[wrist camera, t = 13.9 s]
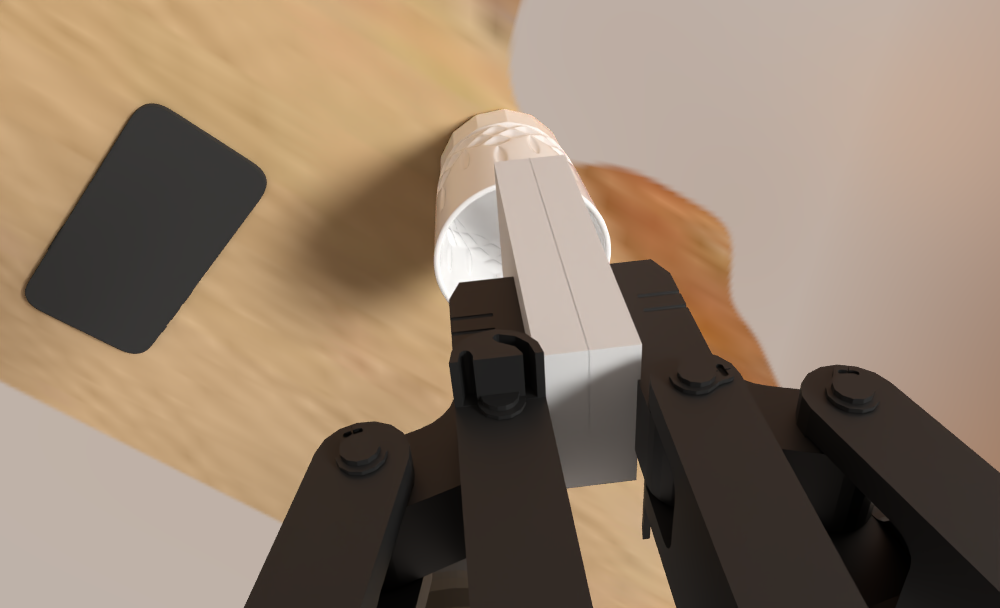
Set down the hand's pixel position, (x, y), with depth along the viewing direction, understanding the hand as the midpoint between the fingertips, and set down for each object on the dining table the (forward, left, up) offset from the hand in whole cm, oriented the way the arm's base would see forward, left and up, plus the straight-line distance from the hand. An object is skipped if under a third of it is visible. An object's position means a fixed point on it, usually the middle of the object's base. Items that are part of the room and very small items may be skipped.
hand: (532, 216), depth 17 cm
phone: (-12, +19, -25) cm, 34 cm away
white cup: (-10, -1, -25) cm, 27 cm away
